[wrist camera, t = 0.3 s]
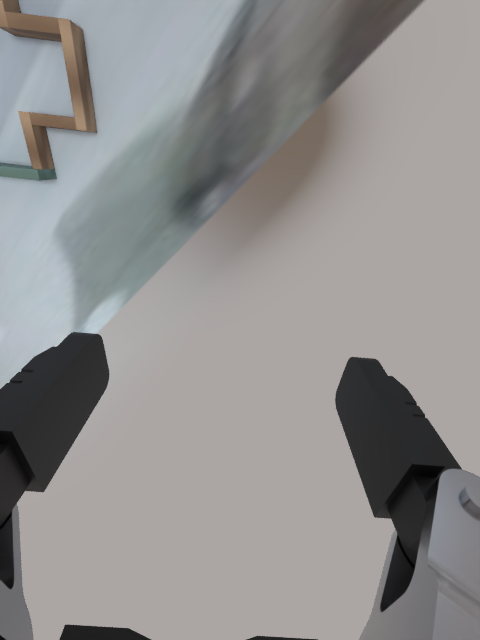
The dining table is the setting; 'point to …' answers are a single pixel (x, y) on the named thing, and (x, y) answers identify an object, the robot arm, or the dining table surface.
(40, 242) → the dining table surface
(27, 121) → the trap lane
